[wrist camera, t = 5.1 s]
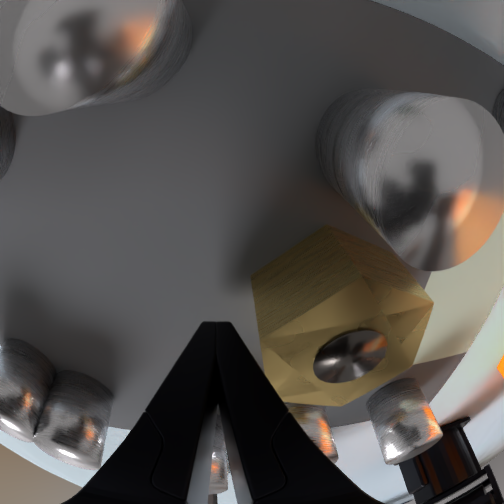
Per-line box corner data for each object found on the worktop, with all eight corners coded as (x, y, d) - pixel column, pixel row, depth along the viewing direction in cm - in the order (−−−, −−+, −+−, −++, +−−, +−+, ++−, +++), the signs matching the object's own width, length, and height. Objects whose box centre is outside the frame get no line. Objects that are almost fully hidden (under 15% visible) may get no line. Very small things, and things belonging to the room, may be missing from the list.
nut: (396, 214, 8) (447, 260, 6) (376, 338, 10) (402, 390, 8) (244, 235, 8) (253, 296, 6) (263, 361, 10) (271, 421, 8)
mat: (542, 101, 6) (552, 103, 6) (424, 398, 15) (427, 405, 15) (-53, 61, 4) (-64, 62, 4) (49, 405, 13) (46, 412, 12)
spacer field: (537, 95, 6) (605, 118, 3) (409, 410, 15) (428, 455, 11) (-65, 67, 4) (-134, 85, 1) (46, 412, 12) (31, 461, 9)
